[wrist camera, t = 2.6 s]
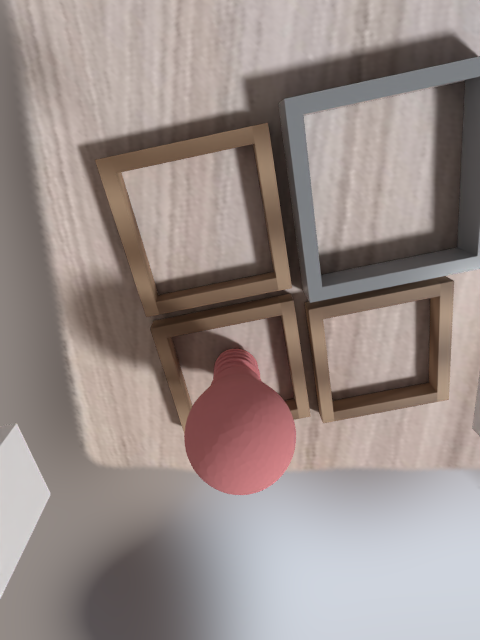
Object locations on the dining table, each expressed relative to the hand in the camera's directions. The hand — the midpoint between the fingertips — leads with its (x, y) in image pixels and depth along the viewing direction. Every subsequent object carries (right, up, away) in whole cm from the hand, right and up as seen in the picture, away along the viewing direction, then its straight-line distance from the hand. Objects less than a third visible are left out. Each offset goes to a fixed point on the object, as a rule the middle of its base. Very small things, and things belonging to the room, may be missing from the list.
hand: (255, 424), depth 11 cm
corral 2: (-1, -1, +21) cm, 21 cm away
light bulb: (-1, -1, +21) cm, 21 cm away
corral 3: (+10, +12, +16) cm, 22 cm away
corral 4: (+11, +1, +21) cm, 24 cm away
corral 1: (-3, +10, +16) cm, 19 cm away
